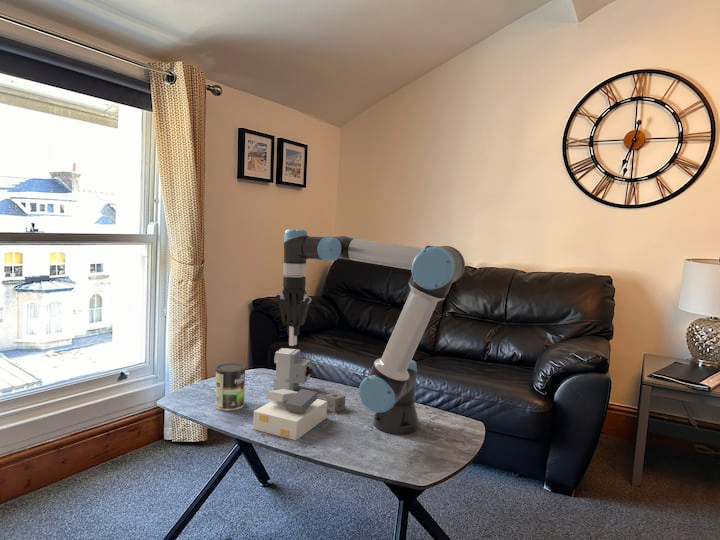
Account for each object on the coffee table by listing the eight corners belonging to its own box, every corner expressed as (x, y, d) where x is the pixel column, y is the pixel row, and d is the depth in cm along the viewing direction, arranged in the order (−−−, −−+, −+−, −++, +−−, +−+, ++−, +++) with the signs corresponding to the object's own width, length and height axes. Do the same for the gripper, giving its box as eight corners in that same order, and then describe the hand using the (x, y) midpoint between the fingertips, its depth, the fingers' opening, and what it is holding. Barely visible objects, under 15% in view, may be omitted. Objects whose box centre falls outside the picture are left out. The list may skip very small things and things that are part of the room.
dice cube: (325, 408, 179) (325, 395, 178) (335, 405, 182) (335, 392, 182) (334, 412, 175) (335, 399, 175) (344, 409, 179) (345, 396, 178)
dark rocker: (317, 398, 165) (317, 392, 164) (301, 413, 156) (301, 406, 155) (301, 395, 167) (301, 388, 167) (285, 409, 158) (285, 402, 158)
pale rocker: (297, 399, 169) (298, 392, 169) (281, 401, 160) (283, 394, 160) (282, 395, 171) (283, 388, 171) (266, 398, 162) (267, 390, 162)
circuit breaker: (307, 393, 192) (309, 356, 191) (273, 389, 195) (274, 352, 194) (313, 387, 200) (314, 351, 198) (280, 383, 203) (281, 347, 201)
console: (326, 417, 170) (327, 397, 169) (295, 440, 152) (296, 418, 151) (286, 408, 177) (287, 389, 176) (252, 429, 158) (253, 407, 157)
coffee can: (249, 402, 180) (251, 365, 179) (234, 413, 171) (235, 373, 169) (225, 398, 183) (226, 361, 182) (208, 408, 174) (209, 369, 172)
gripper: (317, 276, 166) (315, 344, 168) (284, 273, 171) (282, 340, 173) (306, 278, 159) (304, 349, 161) (271, 275, 164) (270, 344, 166)
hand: (292, 344), depth 167 cm, fingers closed
